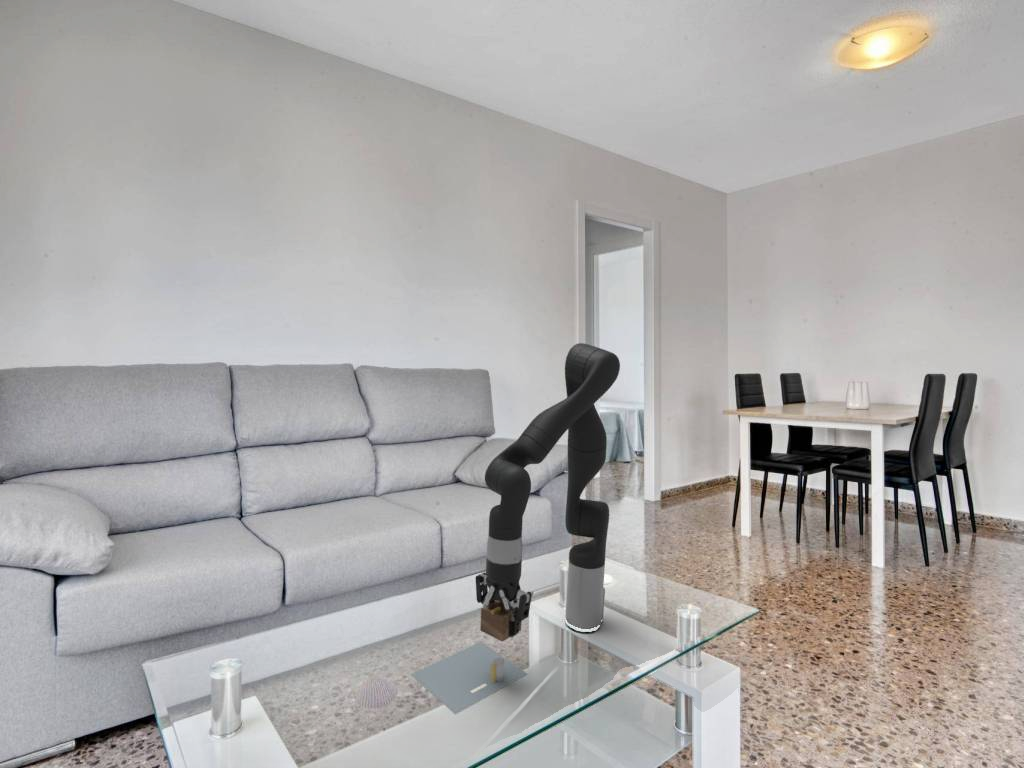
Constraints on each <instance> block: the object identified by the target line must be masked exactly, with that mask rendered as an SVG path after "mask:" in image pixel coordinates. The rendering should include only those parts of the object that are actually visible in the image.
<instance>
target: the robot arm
mask: <svg viewBox="0 0 1024 768" xmlns="http://www.w3.org/2000/svg"><path fill="white" fill-rule="evenodd" d="M620 369H621V363H620V359H619V357H618V356H617V354H615V353H614V352H612V351H609V350H606V349H604V348H600V347H598V346H594V345H591V344H588V343H582V342H580V343H576V344H574V345H573V346H572V347H571V348H570V349H569V350H568V352H567V355H566V358H565V361H564V378H565V379H564V380H565V389H566V398H564V399H562V400H561V401H559V402H557V403H555V404H553V405H552V406H550V407H548V408H546V409H544V410H542V411H541V412H540V413H538V414H537V415H536V416H535V417H534V418H533V419H532V420H531V422H530V423H529V424H528V425H527V426H526V428H525V429H524V431H523V432H522V433H521V435H520V436H519V437H518V439H516V440H515V441H513V443H512V444H510V445H509V446H508V447H506V448H505V449H504V450H502V451H501V452H500V453H499V454H497V456H495V457H494V458H493V459H492V461H491V462H490V463H489V465H488V466H487V468H486V470H485V473H484V482H485V485H486V487H487V488H488V489H489V490H490V491H492V492H494V493H495V494H497V495H500V503H499V504H495V505H494V506H492V508H491V509H490V511H489V515H488V534H487V535H488V536H487V537H488V538H487V541H486V542H487V543H486V557H485V558H486V560H485V561H486V562H485V572H482V573H480V574H478V575H476V576H475V592H476V594H475V595H476V602H477V603H479V604H480V603H481V604H482V608H483V607H485V606H487V605H489V604H490V603H492V602H495V601H500V602H501V603H503V604H504V606H505V610H506V611H508V613H509V617H510V622H509V636H510V637H509V638H514V637H515V636H517V634H519V632H520V631H519V626H520V622H521V623H522V621H524V620H526V619H527V618H529V615H530V609H531V603H532V597H533V595H532V592H531V591H527V592H526V591H524V590H523V589H521V586H520V580H521V578H522V577H521V576H522V567H523V566H522V565H523V564H522V562H523V517H524V514H525V511H526V509H527V504H528V502H529V499H530V495H531V490H532V481H531V480H532V479H531V476H530V474H529V472H528V471H527V470H526V469H525V468H526V467H527V466H529V465H538V464H541V463H543V461H544V460H545V459H546V458H547V457H548V455H549V454H550V452H551V451H552V450H553V448H554V447H555V446H556V444H557V443H558V442H559V441H560V440H561V438H562V436H564V434H565V433H566V432H567V431H568V432H567V493H566V505H565V518H564V519H565V521H564V522H565V530H566V531H567V533H568V534H569V535H572V536H576V537H577V536H578V537H583V538H592V539H591V540H589V541H585V542H582V543H578V544H575V545H573V546H572V547H571V548H570V550H569V553H568V567H567V568H568V570H567V571H568V572H567V587H566V600H565V602H566V604H565V618H566V620H567V622H568V623H569V624H571V625H573V626H575V627H578V628H581V629H591V628H594V627H597V626H598V625H600V623H601V620H602V619H603V620H604V613H605V600H606V598H605V596H606V588H605V587H604V583H605V568H606V567H605V566H606V565H605V564H606V552H607V551H606V547H607V538H608V531H609V530H608V529H609V523H610V508H609V505H608V503H607V502H606V501H600V500H592V499H582V498H581V495H582V494H583V491H584V490H585V489H586V487H587V485H588V484H589V483H590V482H591V481H593V479H594V478H595V477H596V476H597V474H598V473H599V472H600V471H601V470H602V468H603V467H604V465H605V463H606V460H607V445H608V444H607V443H608V442H607V441H608V440H607V433H606V429H605V426H604V424H603V422H602V421H603V420H602V418H601V417H600V415H599V413H598V411H597V409H596V406H595V403H596V402H598V401H599V399H600V398H602V397H603V396H604V395H605V394H606V393H607V392H608V390H609V389H610V388H611V387H612V386H613V384H615V381H616V380H617V379H618V376H619V374H620ZM510 603H512V604H511V605H510ZM513 609H514V610H515V614H514V611H513ZM601 624H602V623H601Z"/></svg>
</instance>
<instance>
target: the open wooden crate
mask: <svg viewBox="0 0 1024 768" xmlns="http://www.w3.org/2000/svg"><path fill="white" fill-rule="evenodd" d="M511 604H513V602H510V605H511ZM513 611H514V614H515V610H514V609H513ZM509 622H510V617H509V613H508V611H506V610H505V606H504V604H503V603H501V602H500V601H495V602H492V603H490V604H489V605H487V606H485V607H483V606H482V607H481V608H480V629H479V630H480V632H482V633H485V634H486V635H488V636H490V637H493V639H496V640H497V641H498V640H499V641H500V642H505V641H506V640H508V639H509V638H511V637H510V636H509ZM521 630H522V621H521V622H520V626H519V632H520V631H521Z"/></svg>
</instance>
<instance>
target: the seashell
mask: <svg viewBox="0 0 1024 768" xmlns="http://www.w3.org/2000/svg"><path fill="white" fill-rule="evenodd" d="M398 688H399V687H398V686H397V685H396V684H395V683H394V682H392V681H391V680H389V679H387V678H386V677H385V676H382V675H380V674H372V675H370V676H369V675H368V677H366V678H365V679H364V680H363V682H362V683H361V685H360V687H359V688H358V689H357V691H356V692H355V694H353V696H354V701H355V703H356V704H357V706H359V707H362V708H363V709H369V710H371V709H372V710H375V709H376V710H377V709H379V707H381V706H382V707H383V706H384V705H386V704H387V706H389V705H390V704H392V703H393V702H394V701H396V698H397V696H398V693H399V690H398ZM382 707H381V708H382ZM384 707H385V706H384ZM384 707H383V708H384Z"/></svg>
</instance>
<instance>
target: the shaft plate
mask: <svg viewBox="0 0 1024 768" xmlns="http://www.w3.org/2000/svg"><path fill="white" fill-rule="evenodd" d="M527 675H528V673H527V672H525V671H524V670H523V669H521V668H520V667H518V666H517V665H516V664H514V663H513V662H511V661H510V660H508V659H507V658H505V657H504V656H503V655H502V654H500V653H499V652H497V651H496V650H494V649H493V648H492V647H490V646H488V645H487V644H486V643H484V642H483V641H479V642H477V643H475V644H473V645H471V646H469V647H467V648H464V649H462V650H460V651H458V652H456V653H454V654H452V655H449V656H447V657H445V658H443V659H441V660H438V661H436V662H434V663H432V664H430V665H428V666H426V667H424V668H422V669H420V670H417V671H416V672H414V673H411V674H410V676H411V677H412V678H413V679H414V680H416V681H417V682H418V683H420V685H421V686H422V687H424V688H425V689H426V690H427V691H428V692H429V693H431V694H432V695H433V697H435V698H436V699H437V700H439V701H440V702H441V703H442V704H443V705H444V706H445V707H446V708H447V709H449V710H450V711H451V712H452V713H453V714H454V715H457V714H459V713H461V712H462V711H464V710H465V709H468V708H470V707H471V706H473V705H475V704H476V703H479V702H480V701H482V700H484V699H486V698H487V697H490V696H491V695H494V693H497V692H498V691H501V690H502V689H504V688H505V687H507V686H509V685H511V684H513V683H514V682H516V681H518V680H520V679H521V678H524V677H525V676H527Z"/></svg>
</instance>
